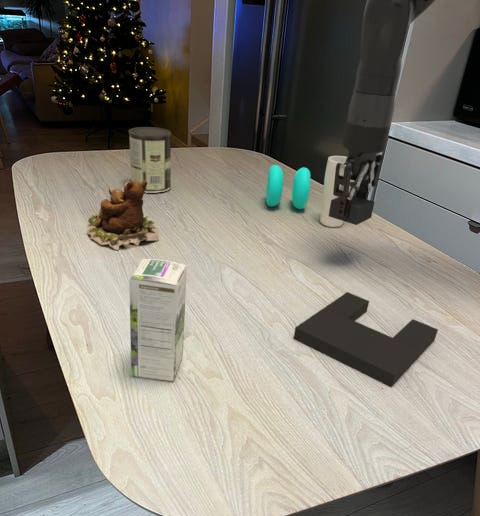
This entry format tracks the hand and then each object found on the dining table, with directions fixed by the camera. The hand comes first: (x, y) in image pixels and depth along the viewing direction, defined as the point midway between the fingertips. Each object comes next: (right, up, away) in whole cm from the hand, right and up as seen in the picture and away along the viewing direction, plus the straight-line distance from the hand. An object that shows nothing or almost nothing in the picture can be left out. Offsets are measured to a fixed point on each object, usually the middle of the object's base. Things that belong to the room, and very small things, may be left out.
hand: (350, 213), depth 94 cm
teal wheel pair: (-10, +8, +31) cm, 33 cm away
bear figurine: (-46, -3, +8) cm, 46 cm away
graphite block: (0, -1, 0) cm, 1 cm away
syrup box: (-32, -27, -28) cm, 50 cm away
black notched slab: (-2, -23, -18) cm, 30 cm away
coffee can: (-44, +14, +35) cm, 58 cm away
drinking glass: (0, +2, +23) cm, 23 cm away
